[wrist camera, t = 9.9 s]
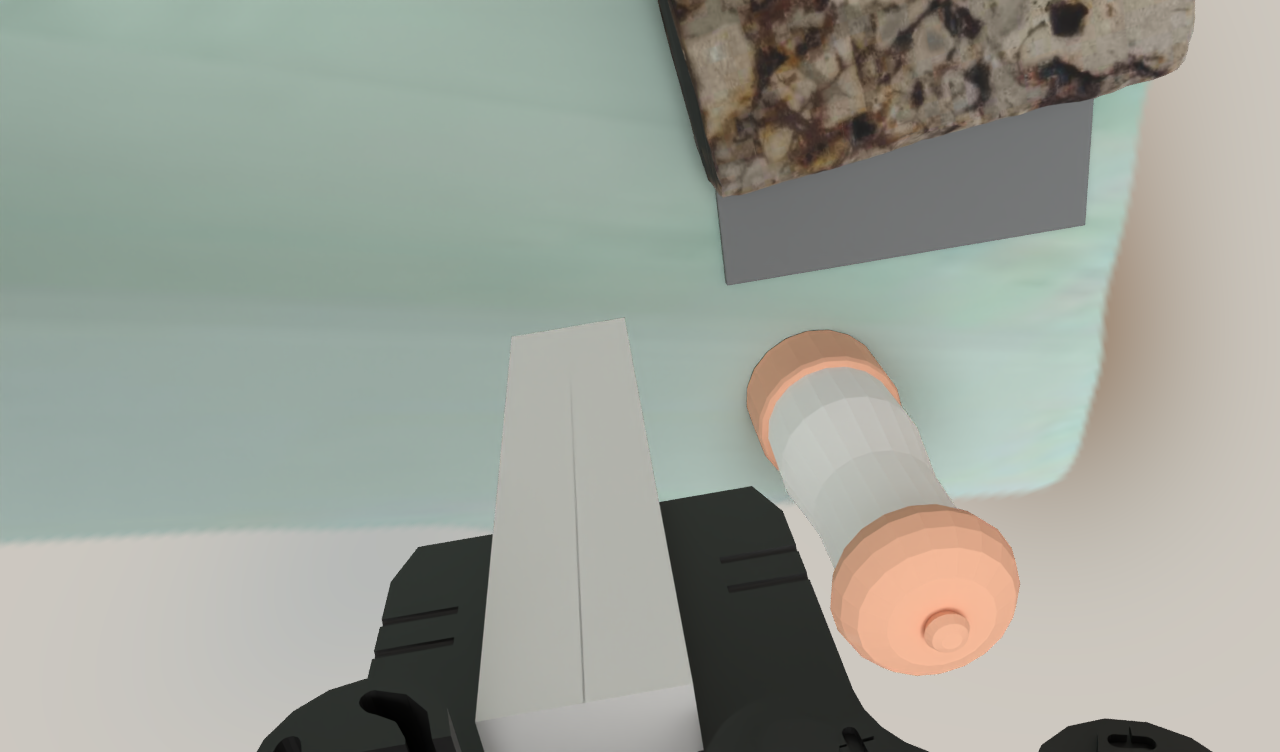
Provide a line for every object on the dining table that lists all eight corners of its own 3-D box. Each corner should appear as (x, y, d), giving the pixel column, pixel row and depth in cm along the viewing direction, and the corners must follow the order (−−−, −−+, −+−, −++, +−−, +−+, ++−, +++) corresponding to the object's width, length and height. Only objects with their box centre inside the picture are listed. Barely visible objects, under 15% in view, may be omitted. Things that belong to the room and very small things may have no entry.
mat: (725, 282, 46) (727, 285, 46) (667, -238, 37) (668, -239, 36) (1080, 222, 47) (1085, 225, 46) (1116, -311, 37) (1121, -313, 37)
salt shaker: (819, 302, 47) (970, 518, 30) (908, 386, 50) (1095, 629, 33) (717, 398, 49) (806, 653, 32) (808, 475, 52) (935, 748, 35)
